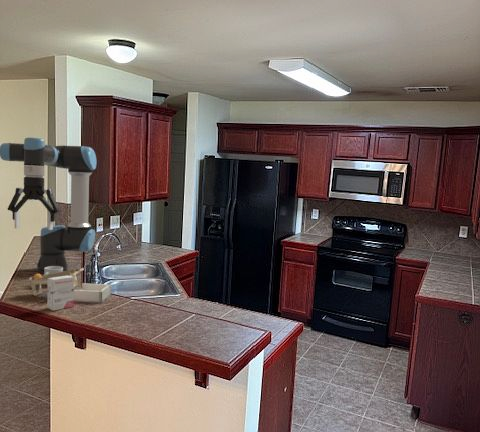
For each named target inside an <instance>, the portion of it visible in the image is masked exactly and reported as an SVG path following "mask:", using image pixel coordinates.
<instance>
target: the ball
mask: <svg viewBox="0 0 480 432" xmlns="http://www.w3.org/2000/svg"><path fill="white" fill-rule="evenodd" d="M33 276H34V279H39V278H42V276H43V275H42V274H40V273H36V274H34V275H33Z"/></svg>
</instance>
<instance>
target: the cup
mask: <svg viewBox="0 0 480 432" xmlns="http://www.w3.org/2000/svg"><path fill="white" fill-rule="evenodd" d="M59 272H64V271H63V267H61V266H49V267H45V268H44V273H43V275H42V276H45V275H50V274H54V273H59ZM45 285H46V286H48V282H46V283H45Z"/></svg>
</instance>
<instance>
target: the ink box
mask: <svg viewBox="0 0 480 432" xmlns="http://www.w3.org/2000/svg"><path fill="white" fill-rule="evenodd" d="M74 290H75V287H74V277H72V276H68V275H67V276H60V277H53V278H48V285H47V291H46V292H47V293H46V294H47V299H46V301H47V306H46V307H47V309H49V310H50V311H58V310H63V309H69V308H73V307H74V306H75V303H74V302H75V301H74Z"/></svg>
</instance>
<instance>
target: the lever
mask: <svg viewBox="0 0 480 432" xmlns="http://www.w3.org/2000/svg"><path fill="white" fill-rule="evenodd" d="M84 269H85V268H84V267H81V268H76V269H75V268H73V269H68V270H67V271H63V272H59V273H54V274H50V275H45V276H43V275H41V276H42V278H39V279H34V275H33V276H31V277H29V278H28V282H29V286H30V287H31V289H32V290H31V291H32V294H33V296H34V297H35V296H38V295H40V294H42V293H43V288H42V284H46V282H48V278H53V277H60V276H67V275H68V276H72V277H74V288H75V287H76V286H78V285H79V282H78V277H77V274H79V273H81V272H82V271H85V270H84Z"/></svg>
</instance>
